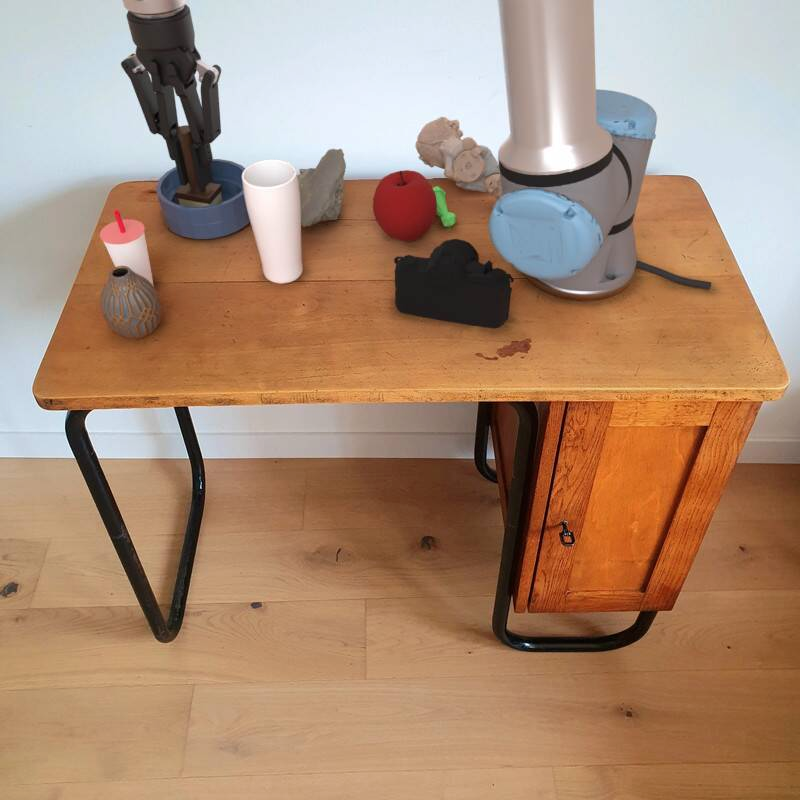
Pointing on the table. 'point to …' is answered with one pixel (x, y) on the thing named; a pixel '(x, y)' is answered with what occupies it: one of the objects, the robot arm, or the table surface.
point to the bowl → (206, 218)
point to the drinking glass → (275, 217)
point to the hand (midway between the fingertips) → (196, 181)
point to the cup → (127, 245)
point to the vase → (130, 303)
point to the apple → (405, 205)
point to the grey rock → (322, 189)
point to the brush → (194, 178)
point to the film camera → (453, 286)
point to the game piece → (443, 208)
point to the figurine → (459, 157)
